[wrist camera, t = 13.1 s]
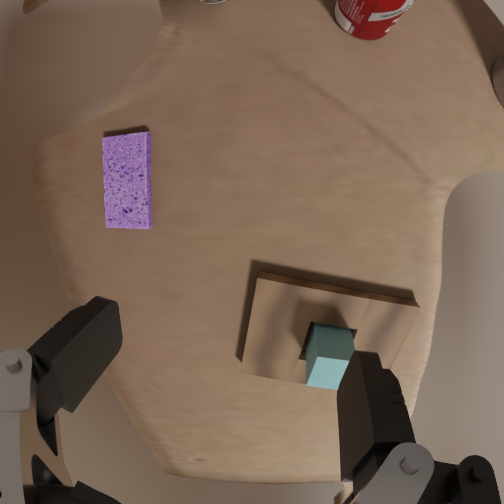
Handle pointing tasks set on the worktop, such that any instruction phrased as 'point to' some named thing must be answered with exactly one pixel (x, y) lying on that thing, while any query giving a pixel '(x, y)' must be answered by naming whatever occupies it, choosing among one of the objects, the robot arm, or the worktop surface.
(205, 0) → the supplement bottle
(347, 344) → the teal block
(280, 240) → the worktop surface
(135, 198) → the sponges
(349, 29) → the soda can
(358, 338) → the socket board
